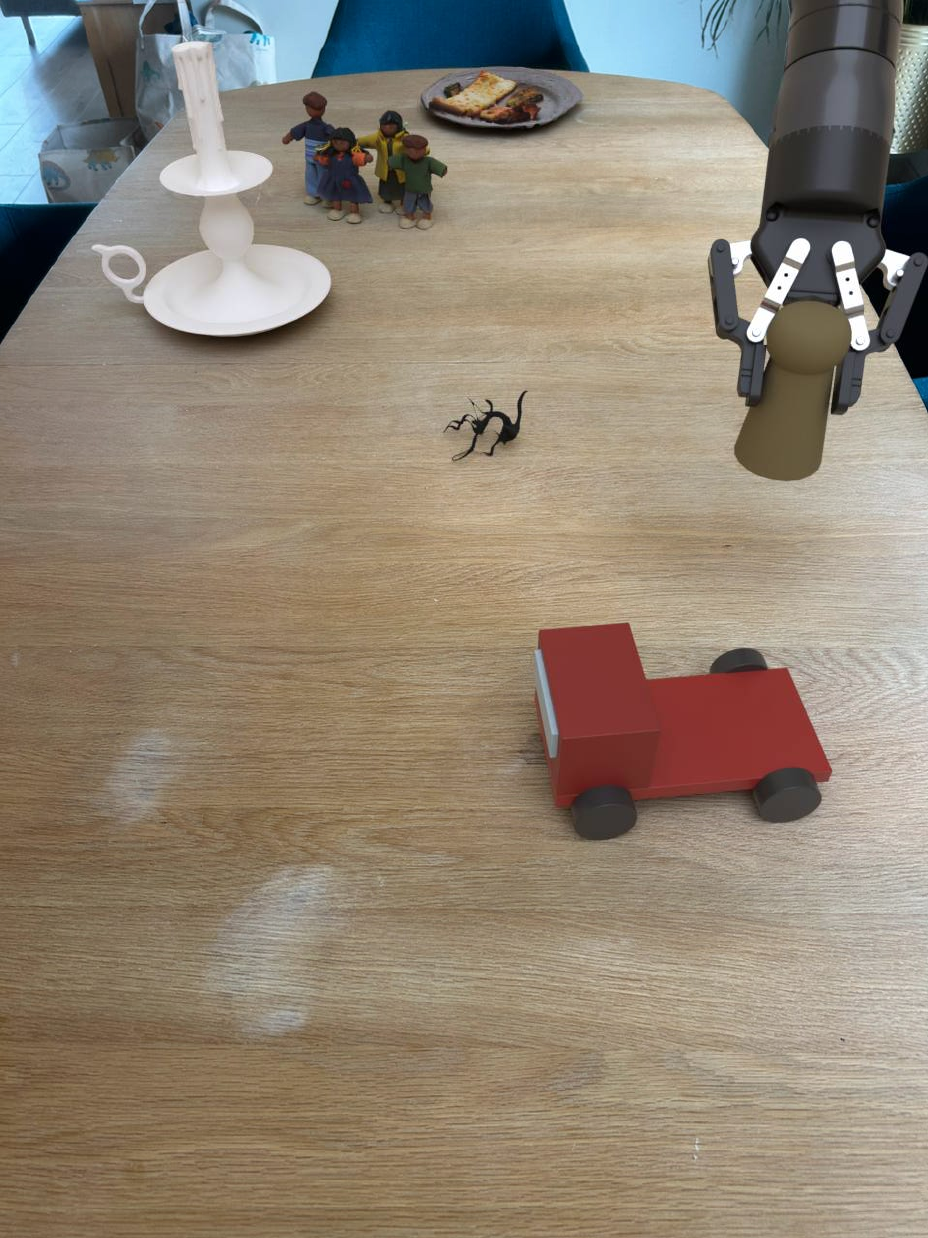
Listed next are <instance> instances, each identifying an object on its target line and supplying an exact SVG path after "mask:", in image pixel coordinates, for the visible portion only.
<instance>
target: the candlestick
mask: <svg viewBox="0 0 928 1238" xmlns="http://www.w3.org/2000/svg"><path fill="white" fill-rule="evenodd" d="M182 38H183V39H184V41H185V42H181V43H178V44H177V43H176V44H175V45H173V46H172V47H171V52H172V57H173V58H172V59H173V63H174V67H175V72H176V78H177V83H178V84H177V88H178V90H179V91H182V95H183V101H184V106H185V111H186V116H187V120H188V125H189V129H190V130H189V131H190V135H191V140H192V148H193V150H195V151H196V153H195V154H191V155H187V156H184V157H182V158H178V159H177V160H174V161H172V162H171V163H169V164H167V166H165V167H164V168H163V169H162V170H161V172H160V174H159V183H160V184H161V185H162V187H164V188H165V189H167V190H169V191H171V192H174V193H177V194H182V195H188V196H193V197H194V196H195V197H203V199H204V206H203V209H202V211H201V214H200V217H199V224H198V226H199V229H198V231H199V233H200V234H199V235H200V237H201V239H202V241H203V243H204V244H205V246H206V247H207V248H208V249H205V250H202V251H198V252H194V253H192V254H189V255H186V256H184V257H182V258H178V259H177V260H175V261H173V262H171V263H169V264H168V265H166V266H165V267H163V268H162V269H160V270H159V271H157V273H156V274H155V275H153V276H152V278H151V279H150V280H149V281H148V282H147V283H146V286H145V288H144V289H143V295H136V294H135V292H134V288H136V287H138V286H139V285H141V283H142V282H144V280H145V277H146V273H147V265H146V262H145V259H144V258H143V256H142V255H141V253H139V251H137V250H136V249H135V248H133V247H130V246H128V245H120V244H117V245H112V246H108V245H104V244H100V243H98V244H97V243H96V244H93V245H92V246H91V251H94V252H97V253H99V254H100V255H101V257H102V258H101V269H102V272H103V274H104V276H105V277H106V278H107V280H109V282H111V283H112V284H113V285H115V286H117V287H118V288H120V289H121V290H122V292H123V294H124V296H125V297H126V299H127V300H128V301H129V302H131V303H133V304H142V305H144V308H145V310H146V311H147V313H148V314H149V315H150V316H151V317H152V318H154V319H155V320H156V321H157V322H159V323H161V324H163V325H165V326H167V327H169V328H172V329H175V330H176V331H182V332H185V333H191V334H195V335H196V334H197V335H205V336H210V337H211V336H213V337H243V336H252V335H256V334H261V333H265V332H269V331H272V330H275V329H277V328H280V327H282V326H285V325H287V324H289V323H292V322H293V321H296V320H298V319H299V318H302V317H303V316H304V317H305V316H306V315H307V314H309V313H310V312H312V311H313V310H314V309H316V308H317V307H318V306H319V305H320V304H321V303H323V301H324V300H325V299H326V297H327V296H328V294H329V292H330V290H331V286H332V277H331V273H330V271H329V269H328V268H327V266H326V265H325V264H324V263H322V261H321V260H319V259H318V258H317V257H314V256H312V255H310V254H308V253H306V252H304V251H301V250H299V249H295V248H291V247H287V246H281V245H273V244H265V243H264V244H261V243H253V240H254V237H255V223H254V221H253V217H252V215H251V214H250V212H249V210H247V208H246V207H245V205H244V204H243V203H242V202H241V200H240V199H239V195H238V193H240V192H243V191H246V190H249V189H252V188H254V187H257V186H259V185H261V184H262V183H264V182H266V181H267V180H268V179H269V178H270V176H271V175H272V173H273V169H274V167H273V164H272V163H271V161H270V160H269V159H268V158H266V157H264V156H262V155H260V154H257V153H254V152H249V151H243V150H242V151H241V150H229V149H227V145H226V140H225V135H224V128H223V123H222V122H225V119H224V115H223V110H222V106H221V101H220V93H219V90H220V89H219V82H218V76H217V64H216V61H215V57H214V51H213V48H214V47H213V43H212V42H210V41H198V40H196V41H195V40H193V41H188V39H187V38H186V37H185V35H182ZM121 254H122V255H126V256H128V257H130V258H132V259H133V260H134V261H135V263H136V264H137V266H138V270H139V272H138V274H137V275H136V276H135V277H133V278H130V279H126V278H122V277H119V276H118V275H116V274H115V273H114V272H113V271H112V270H111V268H110V259H111V258H113V257H114V256H116V255H121Z"/></svg>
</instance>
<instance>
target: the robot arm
mask: <svg viewBox="0 0 928 1238" xmlns="http://www.w3.org/2000/svg"><path fill="white" fill-rule="evenodd" d="M786 1H787V6H788V7H787V8H788V14H789V21H788V28H787V36H786V43H785V51H784V58H783V67H782V73H781V80H780V86H779V91H778V94H777V98H776V102H775V106H774V110H773V116H772V122H771V130H770V132H769V135H768V140H767V149H768V154H767V162H766V170H765V178H764V185H763V193H762V202H761V208H760V217H759V224H758V227H757V229H756V230H755V232H754V233H753V234H752V237H751V238H750V239H748V240H742V241H737V242H736V241H735V242H731V243H730V242H729V241H728V240H727V239H725V238H718V239H716V240H714V241H713V242H712V244H711V247H710V251H709V253H708V257H707V268H708V277H709V287H710V294H711V303H712V311H713V312H712V313H713V318H714V319H713V320H714V328H715V334H716V336H717V337H718V338H719V339H721V340H724V341H725V340H728V341H730V342H732V343H734V344H736V345H737V346H738V348H739V350H740V359H739V367H738V375H737V384H736V392H737V396H738V398H745V399H744V407H746V408H750V407H756V406H757V405H758V404H759V401H760V396H761V389H762V381H763V373H764V370H765V366H766V365H765V364H766V357H767V344H765V338H766V333H767V329H768V326H769V324H770V322H771V320H772V318H773V317H774V315H775V314H776V313H777V312H778V311H779V310H780V309H781V308H782V307H784V306H785V305H787V304H791V303H794V302H799V301H817V302H822V303H826V304H829V305H831V306H833V307H835V308H837V309H838V310H840V311H841V312H843V313H844V314H845V315H846V316H847V318H848V319H849V322H850V325H851V329H852V341H851V344H850V347H849V349H848V351H847V353H846V355H845V357H844V358H843V360H842V362H840V363H839V364H838V365H836V366H835V370H834V378H833V380H834V381H833V386H832V394H831V402H830V403H831V404H830V415H832V416H833V415H834V416H843V415H845V414H846V413H847V412H848V410H849V408H852V407H853V406H854V405H855V404H857V402H858V400H859V399H860V397H861V396H862V395H861V393H862V386H863V378H864V370H865V363H866V357H867V356H868V355H870V354H874V353H878V354H879V353H884V352H887V350H888V349H889V348H890V347H891V346H892V345H893V344H895V343H896V342H897V341H898V340H899V339H900V338H901V335H902V332H903V329H904V328H905V324H906V322H907V319H908V317H909V315H910V311H911V309H912V307H913V304H914V301H915V298H916V296H917V293H918V291H919V289H920V286H921V283H922V280H923V278H924V275H925V273H926V271H927V268H928V256H927V255H926V254H925V253H923V252H920V251H919V252H915V253H913V254H911V255H910V256H909V255H907V254H903V253H900V252H898V251H894V250H891V249H888V248H887V245H886V242H885V240H884V238H883V235H882V229H881V227H882V226H881V225H882V219H883V218H882V217H883V210H884V203H885V202H884V201H885V195H886V188H887V187H886V186H887V178H888V171H889V164H890V163H889V162H890V156H891V149H892V148H891V147H892V141H893V140H892V139H893V132H894V124H895V118H896V117H895V115H896V75H897V67H898V59H899V52H900V47H901V45H900V44H901V37H902V29H903V19H904V0H786ZM747 260H750V261H751V263H752V265H753V266H754V268H755V270H756V272H757V274H758V275H759V277H760V278H761V280H762V282H763V284H764V285H765V287H766V289H767V290H766V293H765V295H764V296H763V299H762V300H761V303H760V305H759V306H758V307H757V310H756V312H755V314H754V315H753V318H752V320H751V321H748V320H746V319H744V318H742V317H739V316H740V315H739V311H738V310H739V309H738V299H737V292H736V284H735V279H736V278H738V277H739V276H740V275H741V273H742V270H743V268H744V262H746V261H747ZM877 268H878V269H879V270H881V271H882V273H883V279H882V283H883V286H884V288H885V289H887V290H888V291H890V292H889V294H888V297H887V298H886V302H885V304H884V307H883V309H882V311H881V314H880V317H879V320H878V323H877V325H876V327H875V328H873V329H870V330H868V329H869V328H868V326H867V321H866V317H865V303H864V299H863V295H862V291H861V285H862V284H863V283H864V282H865V281H866V279H868V277H869V276H870V275H871V274H872V273H873V272H875V270H876V269H877Z"/></svg>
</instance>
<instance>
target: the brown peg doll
mask: <svg viewBox="0 0 928 1238" xmlns="http://www.w3.org/2000/svg"><path fill="white" fill-rule="evenodd" d="M765 338H766V339H765V341H766V345H767V349H766V352H767V353H768V355H769V356H768V359H767V361H766V365H765V366H764V373H763V381H762V389H761V396H760V401H759V404H758V405H757V406H756V407H748V410H747V413H746V415H745V417H744V420H743V423H742V426H741V428H740V430H739V432H738V435H737V439H736V440H735V443H734V446H733V455H734V457H735V459H736V460H737V462H738V463H739V464H740V466H742V467H743V468H744V469H745V470H746V471H748V472H750V473H751V474H754V475H756V476H758V477H761V478H765V479H768V480H771V481H779V482H792V481H800V480H804V479H806V478H809V477H811V476H812V475H814V474H815V473H816V472H817V471H818V470H819V469H820V466H821V464H822V461H823V454H824V453H823V452H824V447H825V446H824V445H825V438H826V432H827V424H828V418H829V417H828V416H829V410H830V403H831V397H832V390H833V383H834V381H833V380H834V375H835V368H836V365H838V364H839V363H840V362H842V360H843V358H844V357H845V355H846V353H847V351H848V349H849V347H850V344H851V341H852V329H851V325H850V322H849V319H848V318H847V316H846V315H845V314H844V313H843V312H841V311H840V310H838V309H837V308H835V307H833V306H831V305H829V304H826V303H822V302H817V301H799V302H794V303H791V304H787V305H785V306H781V307H780V309H779V310H778V312H777V313H776V314H775V315H774V317H773V318H772V320H771V322H770V324H769V326H768V329H767V333H766V335H765Z"/></svg>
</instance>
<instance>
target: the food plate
mask: <svg viewBox="0 0 928 1238" xmlns="http://www.w3.org/2000/svg"><path fill="white" fill-rule="evenodd" d="M583 101H584V94H583V92H582V90H580V89H579V88H578V87H577V85H575V83H573V82H572V81H570V80H569V79H567V78H565V77H563V76H560V75H558V74H556V73H553V72H549V71H547V70H541V69H533V68H530V67H528V68H527V67H524V66H516V67H515V66H514V67H513V66H485V67H484V66H483V67H482V66H481V67H476V68H470V69H468V70H463V71H459V72H451V73H448V74H446V75H444V76H442V77H440V78H439V79H438V80H436V81H435V82H433V83H432V84H431V85H429V86H428V87H427V88H425V89H424V90H423V91H422V93H420V102H421V104H422V106H423V108H424V110H425V111H426V112H428V113H430V114H431V115H432V116H433V117H435V118H441V119H443V120H446V121H449V122H452V123H456V124H459V125H462V126H463V127H470V128H480V129H481V128H482V129H484V128H485V129H491V128H494V129H499V128H500V129H504V130H511V129H520V128H522V131H524V130H525V128H526V129H531V128H533V127H534V126H535V125H537V124H538V125H539V126H544V125H546V124H548V123H550V122H552V121H557V120H558V118H559V117H561V116H563V115H565V114H567V113H568V111H570V110H571V109H573V108H574V107H575V105H577V103H579V102H581V103H582V102H583ZM524 126H525V127H524Z"/></svg>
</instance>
